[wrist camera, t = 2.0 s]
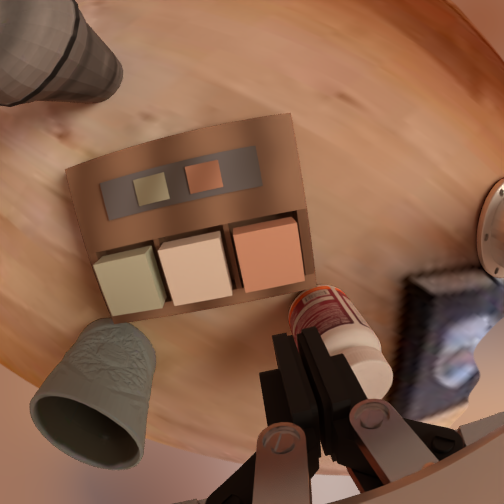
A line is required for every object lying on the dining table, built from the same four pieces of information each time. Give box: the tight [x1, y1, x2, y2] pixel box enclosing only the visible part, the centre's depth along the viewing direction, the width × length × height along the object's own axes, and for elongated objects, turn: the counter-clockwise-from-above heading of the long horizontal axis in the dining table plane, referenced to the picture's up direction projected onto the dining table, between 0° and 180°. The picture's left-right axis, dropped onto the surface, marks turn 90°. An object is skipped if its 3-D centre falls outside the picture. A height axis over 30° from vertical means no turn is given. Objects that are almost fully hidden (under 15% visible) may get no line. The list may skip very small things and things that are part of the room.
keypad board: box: [65, 113, 317, 324], centre depth 24 cm, size 18×14×3 cm
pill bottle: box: [288, 285, 393, 399], centre depth 24 cm, size 6×6×11 cm
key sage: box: [93, 246, 167, 316], centre depth 23 cm, size 4×4×2 cm
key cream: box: [158, 231, 232, 306], centre depth 23 cm, size 4×4×2 cm
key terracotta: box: [233, 217, 305, 293], centre depth 23 cm, size 4×4×2 cm
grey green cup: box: [30, 318, 156, 470], centre depth 24 cm, size 10×10×12 cm
